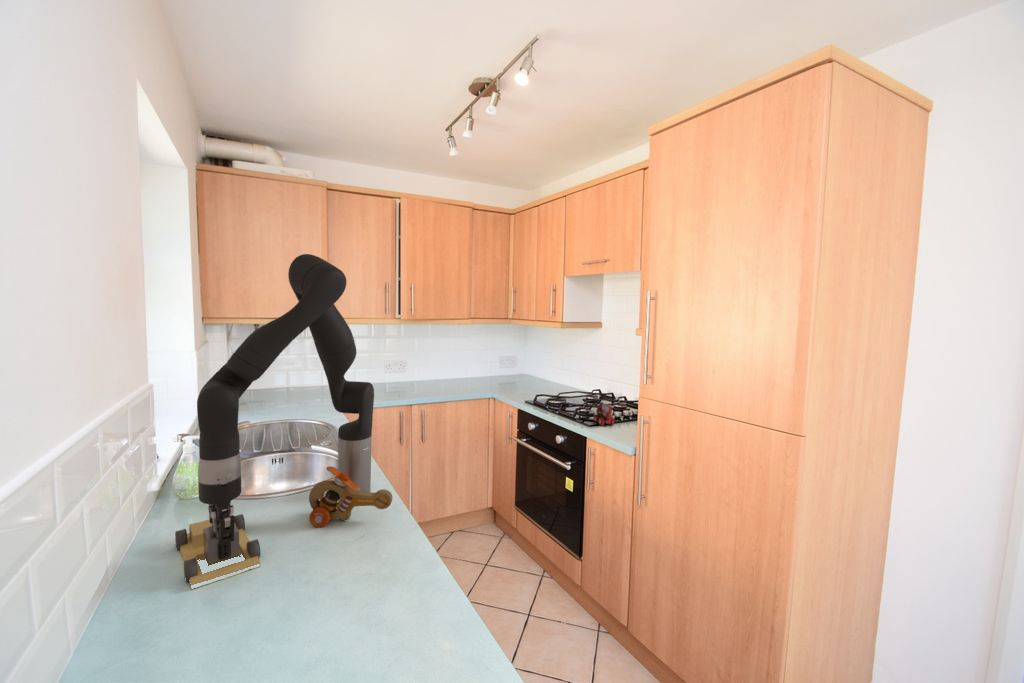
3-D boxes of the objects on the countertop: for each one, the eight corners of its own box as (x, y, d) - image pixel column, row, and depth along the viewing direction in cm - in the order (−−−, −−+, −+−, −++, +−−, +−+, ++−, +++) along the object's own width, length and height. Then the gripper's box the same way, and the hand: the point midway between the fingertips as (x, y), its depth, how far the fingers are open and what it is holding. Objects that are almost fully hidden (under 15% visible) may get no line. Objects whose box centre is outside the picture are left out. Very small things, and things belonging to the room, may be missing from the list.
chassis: (174, 543, 101) (174, 524, 101) (240, 525, 110) (240, 507, 109) (188, 591, 86) (187, 569, 85) (262, 566, 95) (262, 546, 94)
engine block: (203, 553, 95) (203, 528, 94) (233, 544, 98) (233, 520, 98) (208, 565, 91) (207, 540, 90) (239, 555, 94) (238, 531, 94)
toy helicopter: (315, 512, 118) (315, 462, 117) (394, 512, 120) (395, 464, 119) (303, 528, 110) (304, 475, 109) (388, 528, 112) (390, 476, 111)
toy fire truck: (603, 420, 224) (605, 399, 223) (615, 427, 212) (617, 406, 211) (591, 420, 222) (592, 400, 221) (602, 427, 210) (604, 406, 209)
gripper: (193, 468, 95) (194, 542, 97) (204, 492, 85) (206, 575, 87) (233, 460, 100) (234, 531, 102) (249, 482, 90) (249, 560, 92)
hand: (221, 551), depth 94 cm, fingers closed on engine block, 5 cm apart
